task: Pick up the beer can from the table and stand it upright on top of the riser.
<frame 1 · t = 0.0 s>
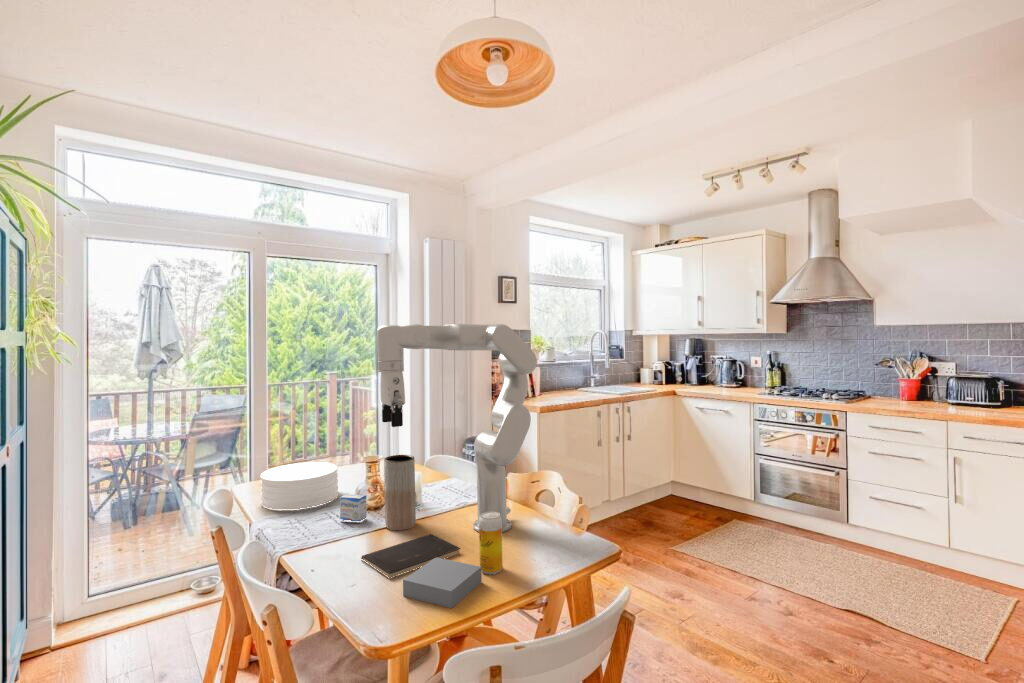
hand: (392, 424, 156), 37 cm above the table, tool pointing down, fingers open, 9 cm apart
beer can: (491, 571, 141), on the table
riser: (443, 588, 131), on the table
hardcover book: (411, 560, 150), on the table
medicine box: (353, 521, 181), on the table
planter: (400, 526, 175), on the table
plate stack: (300, 500, 206), on the table
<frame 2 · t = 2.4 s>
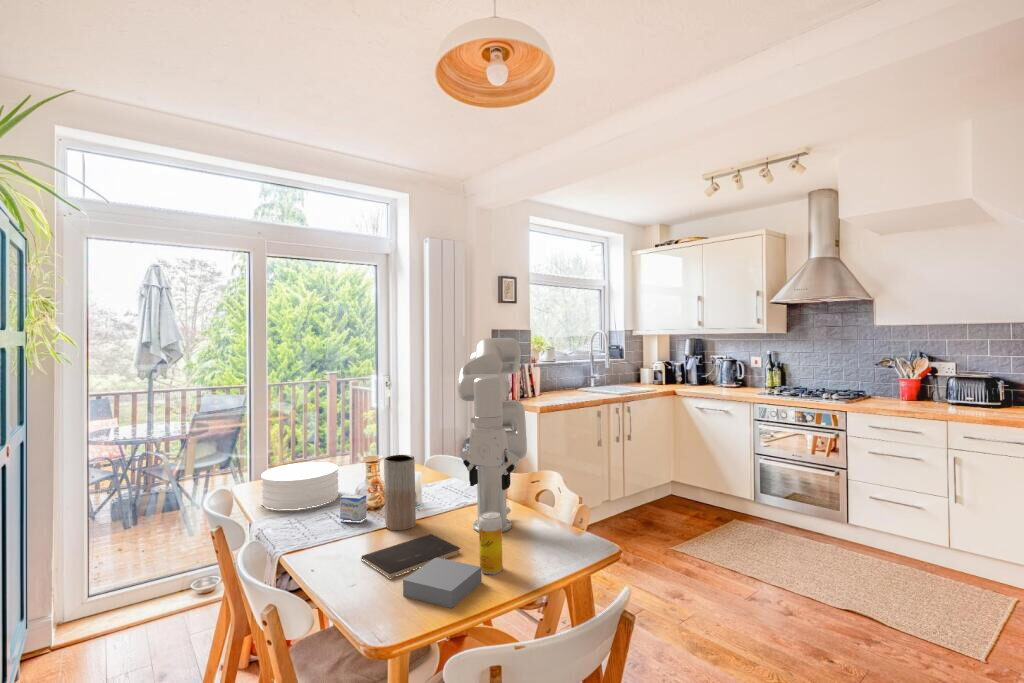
hand: (489, 486, 140), 23 cm above the table, tool pointing down, fingers open, 9 cm apart
nothing on the table moved.
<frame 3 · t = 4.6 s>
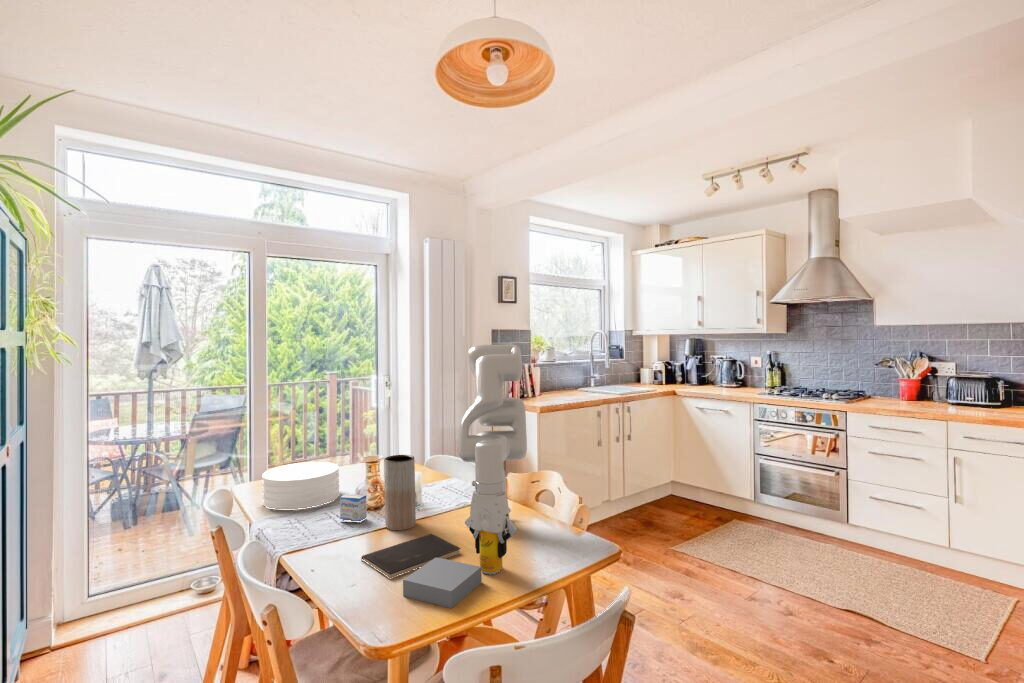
hand: (490, 553, 140), 5 cm above the table, tool pointing down, fingers closed on beer can, 6 cm apart
beer can: (491, 571, 140), on the table, touching gripper
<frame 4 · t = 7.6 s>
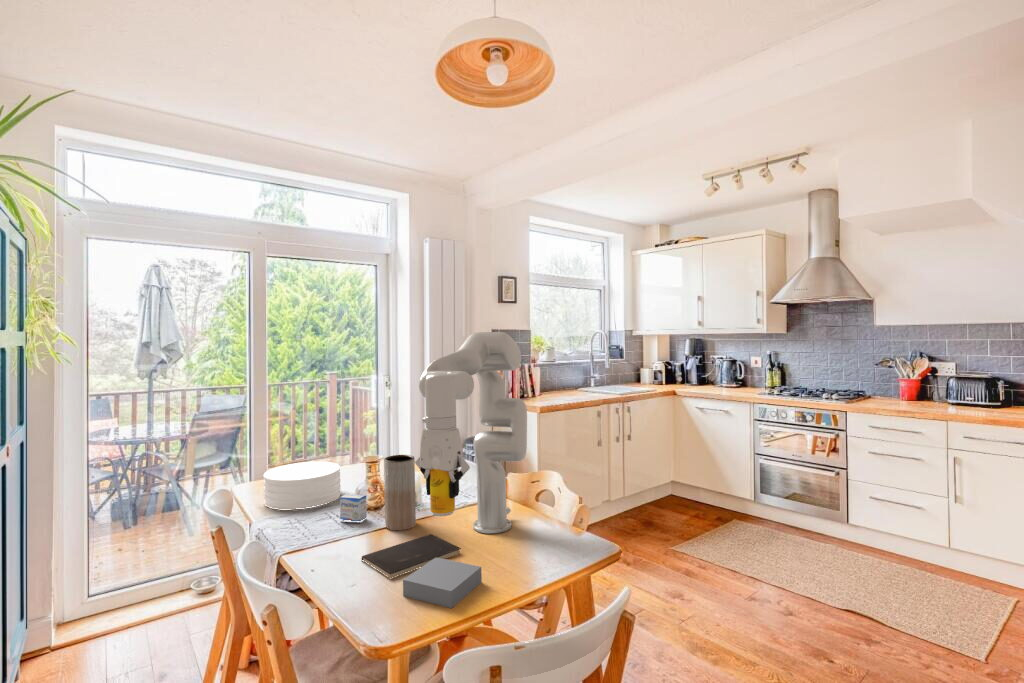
hand: (442, 494, 131), 24 cm above the table, tool pointing down, fingers closed on beer can, 6 cm apart
beer can: (442, 513, 131), point 19 cm above the table, touching gripper
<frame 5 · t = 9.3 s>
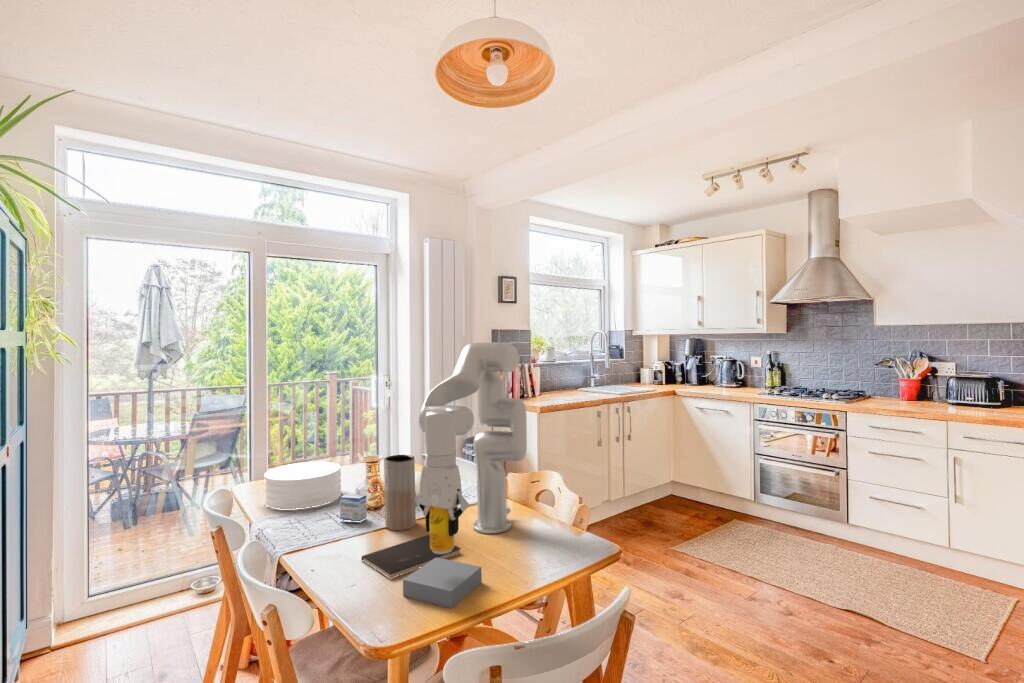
hand: (442, 531, 130), 14 cm above the table, tool pointing down, fingers closed on beer can, 6 cm apart
beer can: (442, 550, 130), point 10 cm above the table, touching gripper
when the fingers open (10 cm above the table, at t = 10.7 s): beer can drops 1 cm, resting on riser.
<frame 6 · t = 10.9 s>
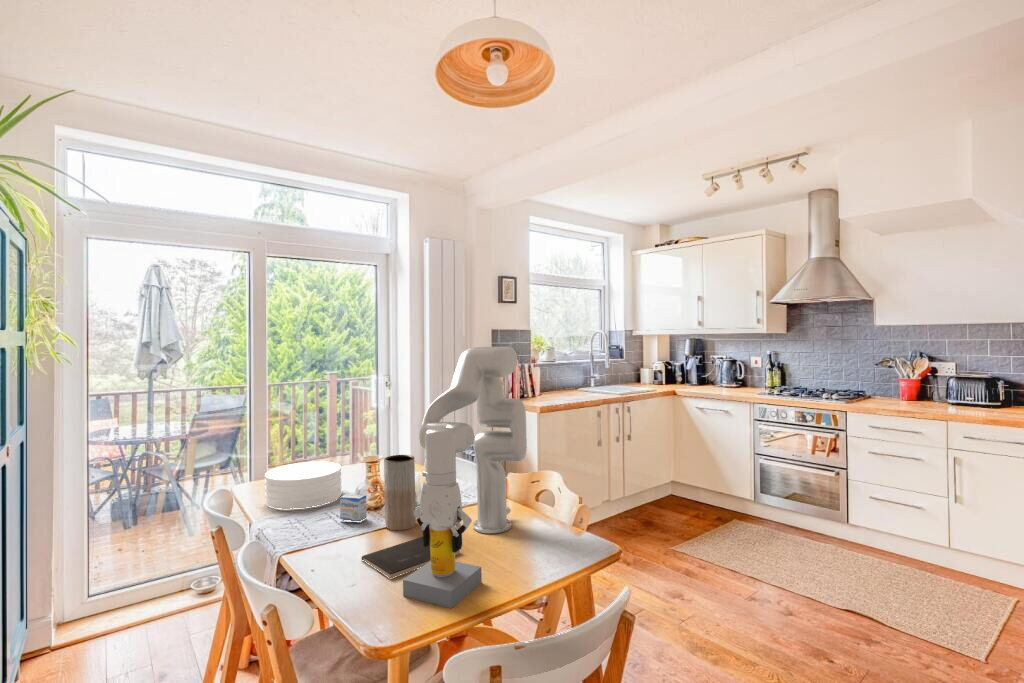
hand: (442, 547, 131), 10 cm above the table, tool pointing down, fingers open, 8 cm apart
beer can: (443, 573, 131), point 4 cm above the table, touching riser
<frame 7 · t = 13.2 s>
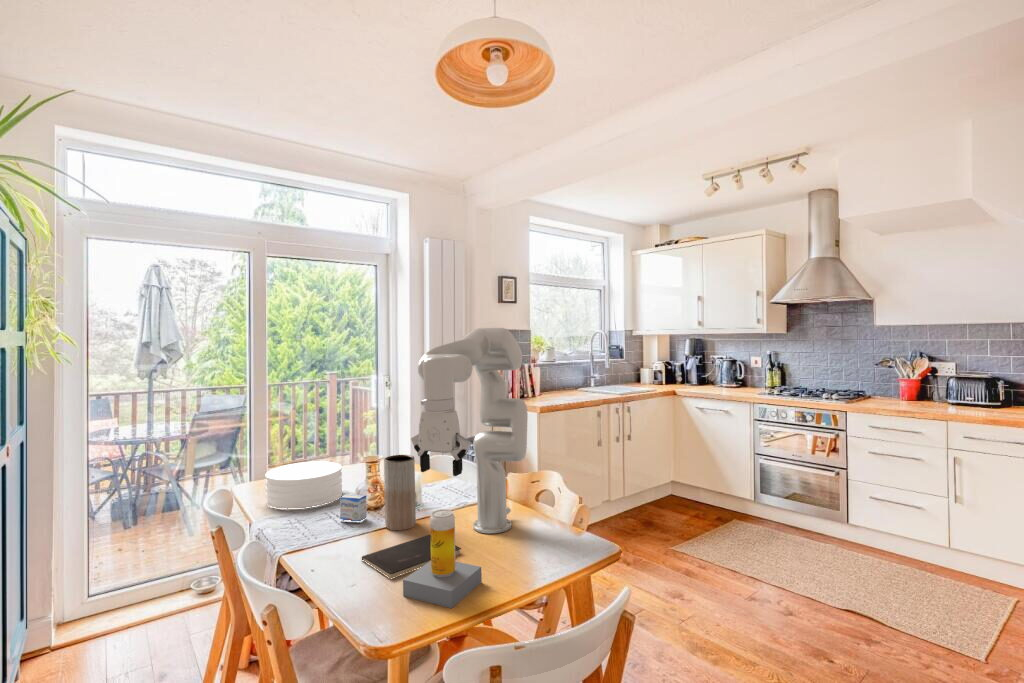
hand: (441, 472, 132), 29 cm above the table, tool pointing down, fingers open, 9 cm apart
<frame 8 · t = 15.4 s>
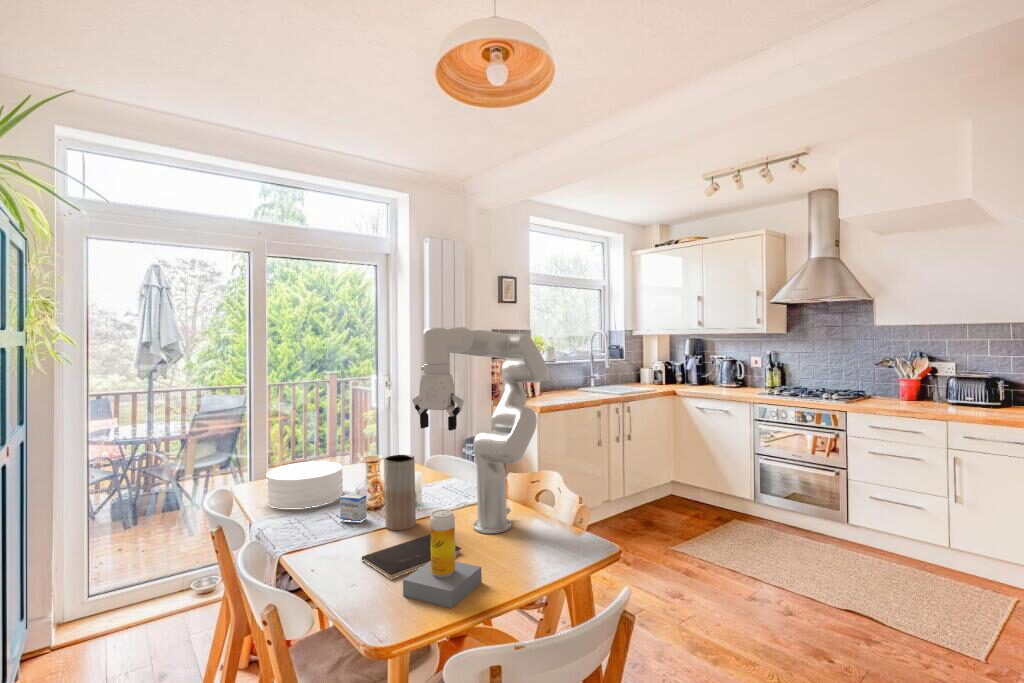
hand: (438, 428, 152), 36 cm above the table, tool pointing down, fingers open, 9 cm apart
at the end: beer can inside the target area on the riser (0.2 cm from its centre), point 3.8 cm above the riser's base; beer can tilted 0°; the gripper is holding nothing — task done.
